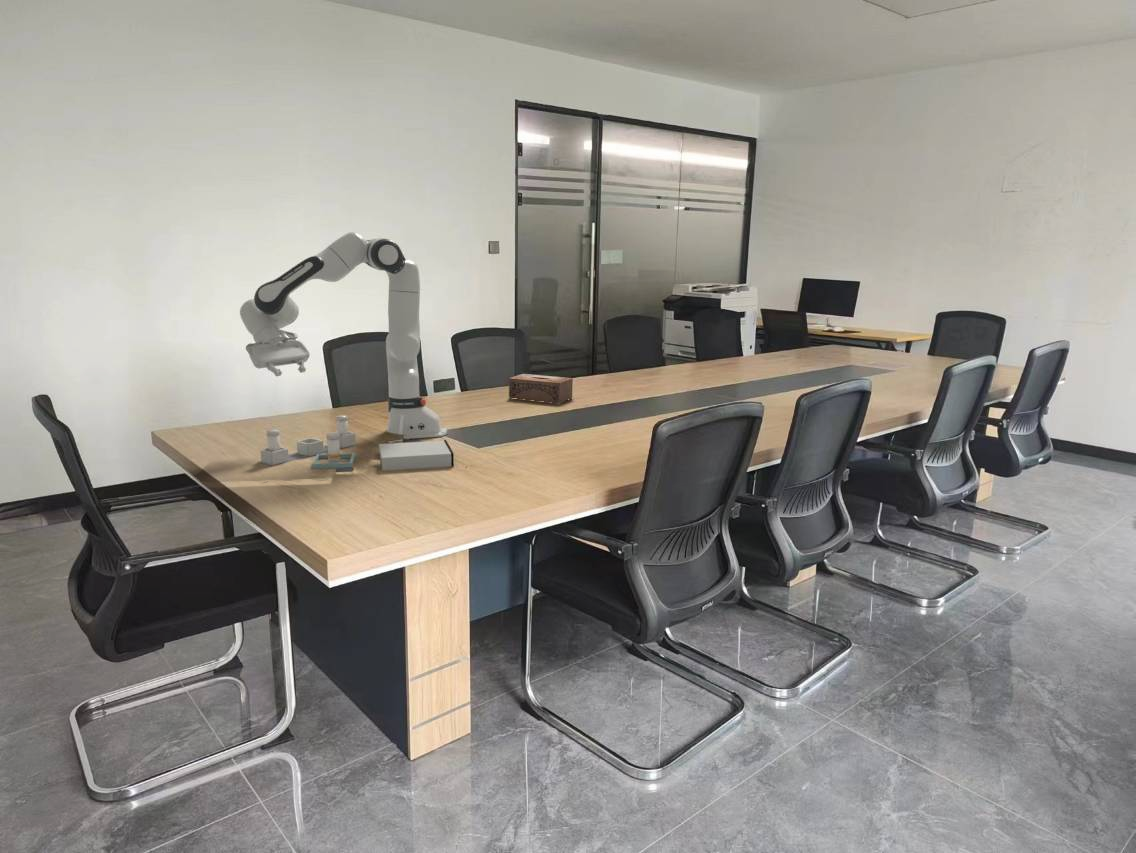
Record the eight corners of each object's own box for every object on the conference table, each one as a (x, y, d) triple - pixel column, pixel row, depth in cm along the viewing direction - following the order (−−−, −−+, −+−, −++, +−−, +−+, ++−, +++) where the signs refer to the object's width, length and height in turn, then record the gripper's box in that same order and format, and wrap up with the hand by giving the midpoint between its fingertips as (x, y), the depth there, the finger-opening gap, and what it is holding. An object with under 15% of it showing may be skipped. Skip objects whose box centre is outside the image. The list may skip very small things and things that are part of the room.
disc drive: (454, 467, 251) (453, 452, 250) (382, 472, 245) (381, 457, 243) (446, 453, 267) (446, 439, 266) (379, 457, 261) (378, 443, 260)
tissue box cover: (572, 399, 364) (572, 378, 362) (559, 404, 351) (559, 382, 349) (523, 394, 374) (523, 373, 372) (508, 399, 361) (508, 378, 359)
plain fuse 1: (282, 459, 249) (280, 429, 247) (280, 462, 246) (278, 431, 244) (269, 459, 249) (267, 429, 247) (267, 463, 245) (265, 432, 243)
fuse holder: (257, 466, 246) (256, 449, 245) (346, 445, 274) (345, 429, 273) (270, 470, 242) (269, 453, 241) (359, 448, 271) (358, 432, 269)
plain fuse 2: (349, 443, 271) (348, 415, 269) (348, 445, 267) (347, 417, 265) (338, 443, 270) (336, 415, 268) (336, 446, 267) (335, 417, 264)
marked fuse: (341, 463, 250) (339, 433, 247) (340, 466, 246) (338, 435, 244) (329, 463, 249) (327, 433, 247) (327, 466, 245) (325, 436, 243)
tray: (355, 461, 254) (355, 453, 254) (352, 471, 243) (351, 463, 242) (317, 462, 252) (316, 454, 252) (312, 472, 241) (311, 464, 240)
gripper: (246, 338, 252) (267, 371, 249) (299, 332, 268) (320, 363, 265) (239, 350, 255) (260, 383, 252) (292, 344, 272) (312, 375, 269)
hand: (291, 373), depth 259 cm, fingers open, 8 cm apart
